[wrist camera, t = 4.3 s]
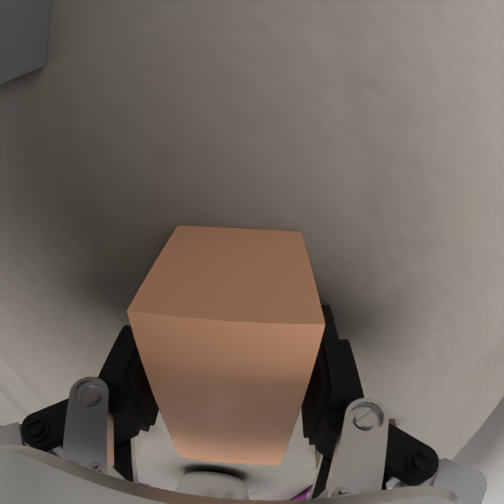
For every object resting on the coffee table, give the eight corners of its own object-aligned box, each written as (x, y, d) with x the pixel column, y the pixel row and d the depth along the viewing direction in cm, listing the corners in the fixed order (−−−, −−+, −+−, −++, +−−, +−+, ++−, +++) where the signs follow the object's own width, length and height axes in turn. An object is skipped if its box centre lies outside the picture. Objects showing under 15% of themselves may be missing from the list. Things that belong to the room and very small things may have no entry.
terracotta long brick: (178, 223, 10) (126, 311, 6) (300, 229, 9) (325, 324, 6) (195, 376, 13) (179, 457, 9) (278, 382, 13) (280, 464, 9)
